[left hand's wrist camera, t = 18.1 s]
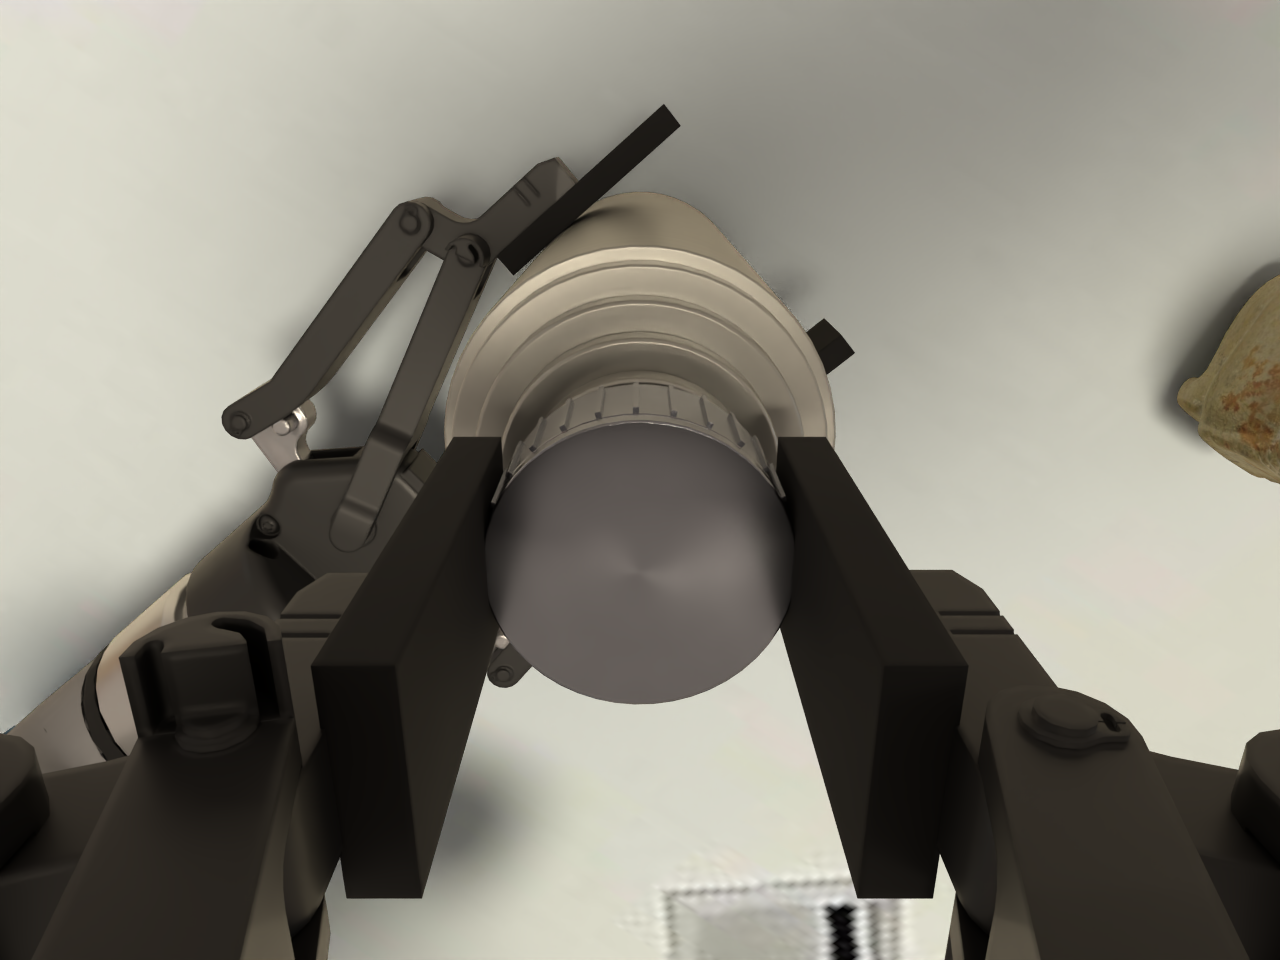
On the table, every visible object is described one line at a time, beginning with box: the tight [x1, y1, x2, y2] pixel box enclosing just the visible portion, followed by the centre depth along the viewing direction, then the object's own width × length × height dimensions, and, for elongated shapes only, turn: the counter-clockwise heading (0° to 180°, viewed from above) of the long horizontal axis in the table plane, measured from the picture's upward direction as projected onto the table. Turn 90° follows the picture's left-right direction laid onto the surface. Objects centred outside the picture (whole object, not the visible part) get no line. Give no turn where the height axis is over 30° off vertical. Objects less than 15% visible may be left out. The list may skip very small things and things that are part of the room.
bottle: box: [444, 192, 836, 471], centre depth 24 cm, size 8×8×23 cm
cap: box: [484, 381, 795, 704], centre depth 13 cm, size 5×5×2 cm
